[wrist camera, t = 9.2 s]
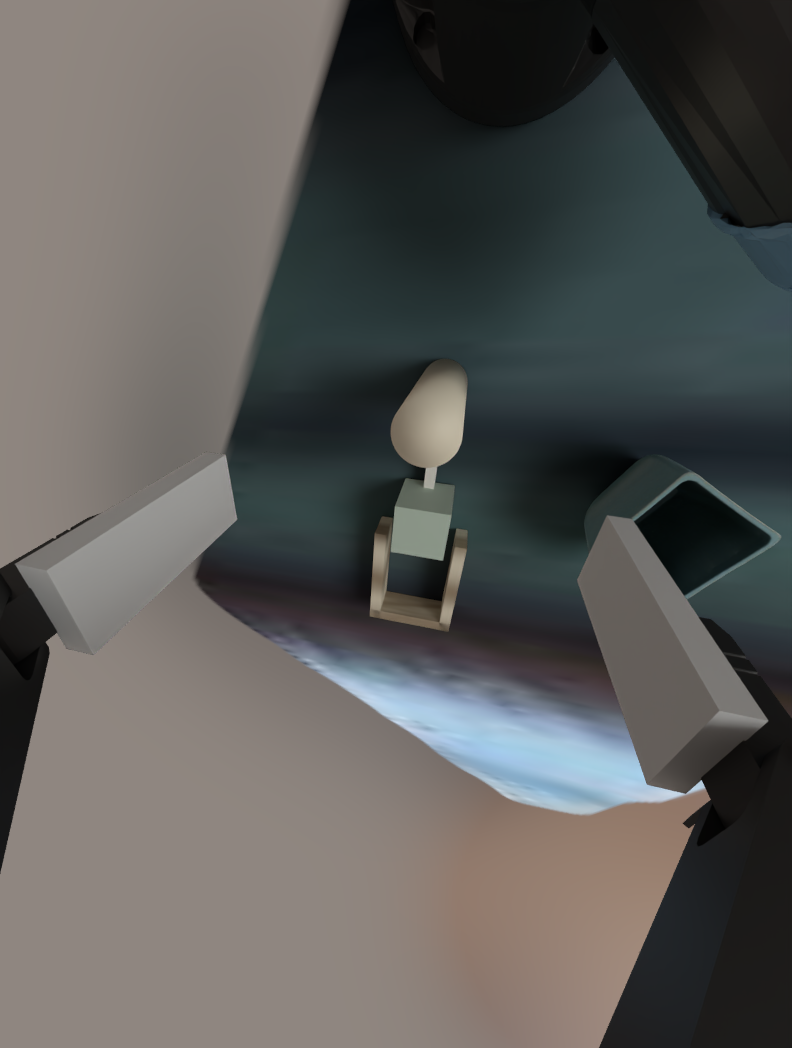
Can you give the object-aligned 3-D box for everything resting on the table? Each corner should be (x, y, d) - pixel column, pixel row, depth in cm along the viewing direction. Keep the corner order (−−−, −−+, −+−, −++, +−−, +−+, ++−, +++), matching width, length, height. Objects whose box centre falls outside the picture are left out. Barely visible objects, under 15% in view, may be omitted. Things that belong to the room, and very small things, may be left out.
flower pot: (563, 502, 36) (585, 556, 29) (640, 428, 32) (691, 469, 24) (631, 547, 37) (670, 611, 30) (715, 482, 33) (786, 538, 25)
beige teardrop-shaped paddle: (418, 355, 32) (384, 391, 20) (477, 362, 31) (478, 403, 19) (401, 519, 40) (371, 611, 29) (447, 527, 40) (435, 624, 28)
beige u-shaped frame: (382, 516, 41) (374, 533, 38) (467, 530, 40) (466, 549, 37) (376, 596, 47) (369, 616, 44) (449, 610, 46) (448, 631, 43)
